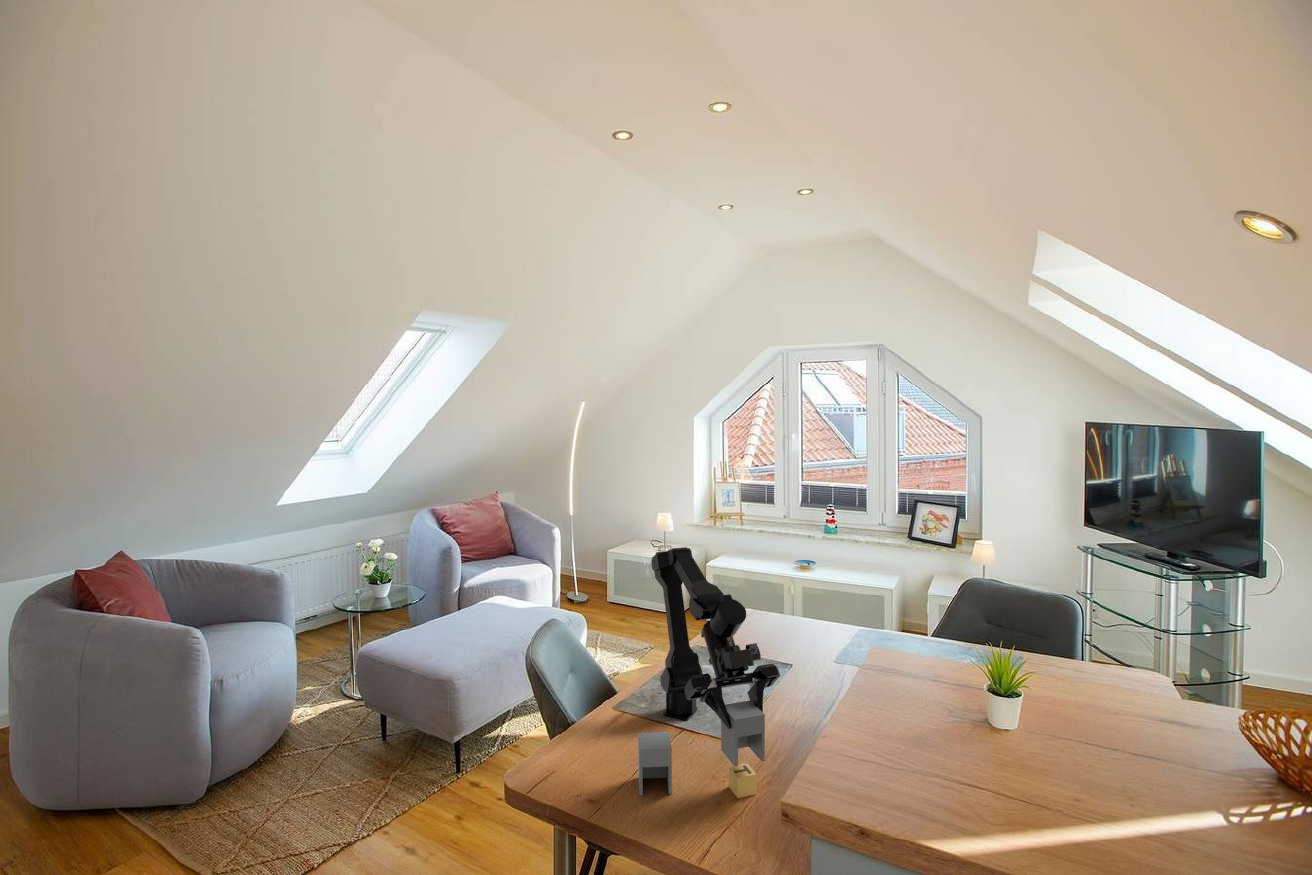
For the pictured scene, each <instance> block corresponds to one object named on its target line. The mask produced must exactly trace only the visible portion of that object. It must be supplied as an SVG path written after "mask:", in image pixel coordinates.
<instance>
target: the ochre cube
mask: <svg viewBox="0 0 1312 875" xmlns="http://www.w3.org/2000/svg"><path fill="white" fill-rule="evenodd" d="M757 775H758V773H756V772H755V770H754V769H753V768H752V767H751V766H750V765H749V764H748V762H746V763H742V764H738V766H737V767H735V766H734V765H733V766H732V765H731V766H728V787H729V789H730V790H731V791H732V793H733V794H734V795H735V797H736V798H737V799H741V798H746V797H750V796H754V795H757V794H758V789H757V788H758V786H757V785H758V783H757V782H758V778H757V777H758V776H757Z"/></svg>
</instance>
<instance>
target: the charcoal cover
mask: <svg viewBox="0 0 1312 875" xmlns="http://www.w3.org/2000/svg"><path fill="white" fill-rule="evenodd" d="M725 706H726V709H727V712H728V714H729V717H730V721H731V726H732V727H731V729H728V728H727V727H726V725H725V724H724V723H723V722H722V720H721V719H720V724H721V725H720V729H721V730H720V738H721V739H720V751H721V752H722V753H723V755H725V757H726V758H727V759H728V760H729V761H730V762H731V764H732V765H733V766H735V767H737V766H738V765H739V749H744V748H749V750H751V751H752V752H753V754H754V755H755V756H756V757H757V758H758V759H759V760H760V761H761V762H765V758H766V757H765V756H766V754H765V750H766V748H765V747H766V745H765V742H766V741H765V740H766V737H765V736H766V735H765V734H766V714H765V713H764V711H763V712H762V711H760V710H759V709H758V708H757V707H756V706H755V705H754V704H753V703H752V702H751V701H750V699H749V700H745V701H744V700H743V701H738V702H732V703H727V704H726V703H725Z"/></svg>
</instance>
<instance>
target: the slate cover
mask: <svg viewBox="0 0 1312 875" xmlns="http://www.w3.org/2000/svg"><path fill="white" fill-rule="evenodd" d="M672 749H673V748H672V742H671V737H670V732H669V731H664V732H663V731H661V732H660V731H659V732H638V733H637V752H638V753H637V760H638V761H637V763H638V764H637V765H638V766H637V768H638V770H637V771H638V772H637V774H638V776H637V778H638V790H639V791H638V792H639V794H638V795H639V796H640V797H641V796H643V795H644V793H643V790H644V789H643V788H644V787H643V784H644V783H643V781H644V780H643V779H663V778H664V779H665V778H666V783H667V784H666V785H667V790H668V792H667V793H668V795H673V781H672V780H673V776H672V775H673V770H672V768H673V766H672V765H673V761H672V760H673V758H672V757H673V756H672V755H673V751H672Z"/></svg>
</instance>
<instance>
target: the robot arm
mask: <svg viewBox="0 0 1312 875" xmlns="http://www.w3.org/2000/svg"><path fill="white" fill-rule="evenodd" d="M650 562H651V564H650V565H651V569H652V570H653V572H654V578H655V579H656V581H657V582H658V583H659V585H660V586H661V588H662V591H663V599H664V608H665V609H664V610H665V616H666V624H667V631H668V641H669V651H668V653H667V655H666V658H665V660H664V663H665V664H664V665H665V667H664V670H663V671H662V673H661V675H660V677H659V678H660V680H659V681H660V686H661V689H662V690H664V692H665V695H666V696H665V700H666V701H665V710H664V711H663V712H662V715H663V716H666V717H671V718H674V719H678V720H683V721H688V720H689V719H691V717H692V716H693V715H694V714H695V713H696V712H697V710H698V707H697V700H698V699H699V701H700V703H704V704H706V705H707V706H708V707H709V708H710V709H711V710H712V711H713V712H714V713H715V714H716V716H717V717H718V718H719V720H720V721H721V720H722V722H723V723H724V724H725V725H726V727H727V728H728V729H731V727H732V726H731V721H730V717H729V714H728V712H727V709H726V706H725V705H726V703H725V701H724V698H723V697H724V696H723V689H724V688H730V687H736V686H742V685H748V686H749V690H748V691H747V696H748V699H749V700H750V701H751V702H752V703H753V704H754V705H755V706H756V707H757V708H758V709H759V710H760V711H762V712H763V713H764V693H765V692H764V691H765V689H767V688H770V687H772V686H773V685H774V684H775V683H776V681H778V679H779V678H780V677H781V674H780V673H781V672H780V671H779V668H778V667H777V666H776V665H775V663H769V664H767V663H766V664H761V665H757V666H756V668H755V669H754V670H753V671H752V672H747V671H748V670H749V667H753V666H755V663H754V661H759V660H761V656H762V655H761V651H760V648H759V646H758V643H757V642H756V643H755V642H754V643H749V644H745V649H741V647H740V646H739V644H736V642H735V640H734V636H735V635H736V634H737V632H738V631H739V629H740V628H741V626H742V624H743V623H744V622H745V620H746V619H747V609H746V608H745V607H744V605H743V604H742V603H741V602H739V600H736V599H733V597H732V594H724V593H723V591H722V590H721V589H720V588H719V587H718V585H716V584H713V583H710V582H709V581H708V580H707V578H706V577H705V575H704V573H703V572H702V570H701V567H699V565H698V563H697V562H696V560H695V559H694V557H693V553H692V549H691V548H690V547H686V546H684V547H673V548H671V549H669V550H666V551H657V552H655V554H654V555H653V556H652V557H651V561H650ZM683 585H684V588H685V589H686V591H687V593H688V595H689V602H688V608H689V612H690V614H691V616H692V617H693V618H694V620H696V621H705V620H707V622H705V623H704V624H703V627H702V630H701V633H700V634H701V635H700V636H701V638H704V642H705V644H706V648H707V650H708V655H709V659H708V663H709V666H711V665H712V669H713V672H714V676H715V677H713V678H712V677H711V675H710V674H709V673H703V669H702V667H701V664H700V661H699V660H700V659H699V655H698V653H697V652H694V650H693V649H692V648H691V646H690V638H689V632H688V625H687V616H686V609H685V608H686V607H685V603H684V602H685V601H684V595H683ZM745 672H747V673H745Z"/></svg>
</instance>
